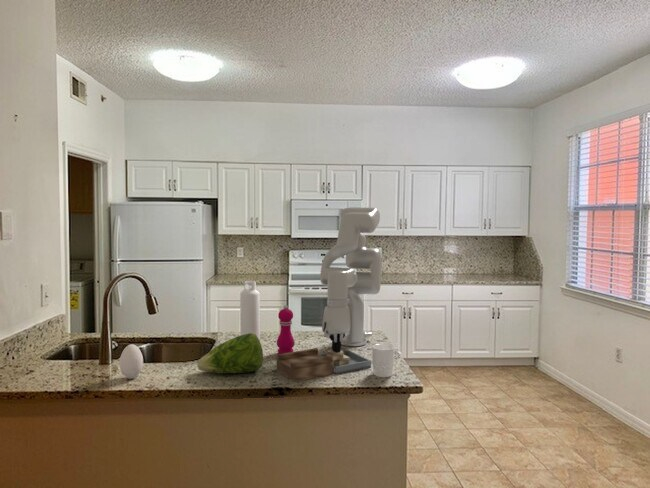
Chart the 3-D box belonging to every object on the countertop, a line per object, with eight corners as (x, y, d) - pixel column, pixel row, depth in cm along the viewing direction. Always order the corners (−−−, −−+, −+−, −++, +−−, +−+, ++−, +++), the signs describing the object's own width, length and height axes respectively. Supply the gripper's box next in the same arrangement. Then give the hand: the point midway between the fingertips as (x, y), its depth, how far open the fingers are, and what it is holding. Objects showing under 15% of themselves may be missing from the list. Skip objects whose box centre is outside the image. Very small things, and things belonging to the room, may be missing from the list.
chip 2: (332, 355, 172) (332, 362, 172) (339, 359, 168) (339, 365, 168) (342, 353, 174) (342, 360, 174) (349, 357, 170) (349, 363, 171)
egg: (124, 374, 158) (123, 341, 157) (146, 374, 159) (145, 341, 158) (116, 382, 151) (115, 347, 150) (139, 382, 151) (138, 347, 151)
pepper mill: (293, 356, 180) (293, 307, 179) (275, 356, 180) (275, 306, 179) (295, 351, 187) (295, 303, 186) (277, 350, 188) (278, 303, 186)
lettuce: (203, 379, 167) (196, 343, 167) (266, 363, 170) (258, 329, 170) (197, 388, 153) (190, 349, 153) (266, 371, 156) (258, 333, 156)
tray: (347, 355, 183) (347, 349, 182) (370, 367, 169) (370, 360, 169) (313, 361, 175) (313, 355, 174) (336, 374, 161) (336, 367, 161)
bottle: (237, 348, 190) (237, 282, 188) (244, 343, 198) (244, 279, 196) (255, 350, 188) (255, 283, 186) (262, 344, 196) (262, 280, 194)
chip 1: (326, 350, 170) (326, 357, 170) (333, 354, 166) (333, 360, 167) (336, 348, 173) (336, 355, 173) (343, 352, 169) (343, 358, 169)
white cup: (367, 371, 164) (368, 344, 163) (386, 369, 167) (387, 342, 166) (378, 379, 156) (379, 351, 156) (398, 376, 160) (398, 348, 159)
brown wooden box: (314, 362, 174) (314, 347, 173) (333, 373, 162) (334, 357, 161) (276, 369, 165) (276, 353, 165) (293, 381, 153) (294, 364, 153)
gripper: (348, 300, 176) (347, 346, 177) (314, 303, 168) (314, 351, 169) (359, 303, 169) (358, 351, 170) (325, 306, 162) (324, 357, 163)
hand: (336, 351), depth 170 cm, fingers closed
